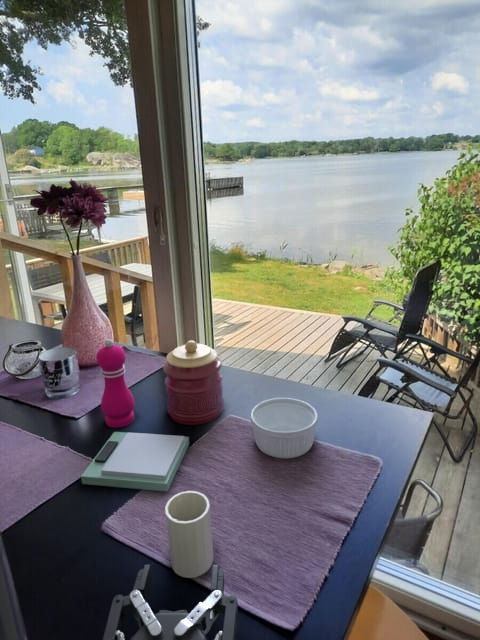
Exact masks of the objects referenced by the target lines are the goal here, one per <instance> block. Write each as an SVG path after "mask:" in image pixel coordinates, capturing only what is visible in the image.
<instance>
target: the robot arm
mask: <svg viewBox="0 0 480 640" xmlns="http://www.w3.org/2000/svg"><path fill="white" fill-rule="evenodd" d="M11 568H12V567H11V566H10V561H9V557H8V554H7V550H6V546H5V542H4V539H3V535H2V531H1V530H0V640H29V637H28V633H27V630H26V625H25V621H24V617H23V612H22V609H21V604H20V602H19V601H20V600H19V597H18V593H17V589H16V585H15V581H14V577H13V573H12V569H11ZM152 579H153V570H152V564H150V563H149V564H147V563H146V564H144V565H143V568H140V569H139V571H138V572H137V573H136V578H135V580H134V581H135V582H134V585H133V588H132V591H130V593H129V594H128V595H125V596H123V594H116V595H115V596H114V597H113V599H112V601H111V606H110V609H109V613H108V618H107V621H106V624H105V628H104V633H103V636H102V640H126V638H125V634H124V632H123V629H124V626H125V621H126V617H127V615H130V614H132V615H133V617H134V619H135V621H136V623H137V625H138V628H139V629H138V630H137V631H136V632H135V633H134V634H133V635H132V636H131V637H130V638H129V640H208V637H207V636H206V635H207V634H208V633H209V632H210V630H211V628H212V626H213V624H214V622H216V621H217V619H218V618H219V617H220V615H224V617H223V627H222V630H218V633H216V634H215V637H214V639H213V640H237V630H238V621H239V620H238V618H239V610H238V609H239V608H238V598H237V596H236V595H233V594H232V595H229V596H228V595H225V593H224V592H225V591H224V590H225V572H224V570H223V569H222V568H220V565H219V564H212V569H211V580H210V590H209V591H210V594H209V595H208V596H207V597H206V599H204V600H203V601H200V602H199V603H198V604H197V605H195V606H194V608H193V609H192V610H191V611H190V612H188V610H187V609H179V610H175V611H171V610H167V609H159V611H158V612H156V613H154V612H153V611H152V609H151V606H150V605H149V603H148V602H147V599H148V596H149V591H150V587H151V583H152Z"/></svg>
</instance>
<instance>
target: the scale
mask: <svg viewBox="0 0 480 640" xmlns="http://www.w3.org/2000/svg"><path fill="white" fill-rule="evenodd" d="M189 446H190V437H189V436H184V435H174V434H173V435H172V434H160V433H159V434H158V433H157V434H156V433H143V432H130V431H129V432H126V431H125V432H123V431H113V432H112V434H111V435H110V437H109V438H108V440H106V442H105V443H104V445H103V446H102V448H101V449H100V450H99V451H98V453H97V454H96V456H94V458H93V460H92V461H91V462H90V463H89V465H88V466H87V467H86V468H85V470H84V471H83V473H82V474H81V475H80V480H81V485H90V486H91V485H92V486H102V487H112V488H125V489H135V490H148V491H157V492H158V491H159V492H169V489H170V488H171V485H172V483H173V480H174V479H175V477H176V474H177V472H178V470H179V467H180V465H181V463H182V461H183V458H184V457H185V454H186V452H187V450H188V448H189Z"/></svg>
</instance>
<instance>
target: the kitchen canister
mask: <svg viewBox="0 0 480 640" xmlns="http://www.w3.org/2000/svg"><path fill="white" fill-rule="evenodd" d="M165 360H166V362H165V364H164V365H163V367H162V370H163V372H164V374H165V376H166V377H165V379H164V385H165V391H166V403H167V404H166V407H167V413H168V414H169V417H170V419H172V420H173V421H174V422H176V423H178V424H181V425H190V426H194V425H195V426H196V425H204V424H206V423H210V422H213V421H214V420H216V419H218V418H219V417H220V416H221V415H222V413H223V411H224V407H225V399H224V396H223V395H224V394H223V393H224V392H223V375H222V372H221V371H220V370H221V369H222V366H223V363H222V361H221V359H219V358H218V352H217V350H215V349H214V348H212V347H210V346H208V345H206V344H203V343H197V342H196V341H195V340H188V341H186V343H185V344H182V345H179V346H177V347H175V348H174V349H173V350H172V351H170V352H168V353H167V354H166V359H165Z"/></svg>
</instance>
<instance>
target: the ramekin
mask: <svg viewBox="0 0 480 640" xmlns="http://www.w3.org/2000/svg"><path fill="white" fill-rule="evenodd" d="M318 421H319V417H318V412H317V410H316V409H315V407H314V406H313V405H311V404H310V403H308V402H306V401H303V400H301V399H298V398H297V399H296V398H291V397H275V398H269V399H266V400H263V401H261V402H259V403H258V404H256V405H255V406H254V407H253V408H252V410H251V412H250V424H251V425H252V431H253V436H254V442H255V444H256V446H257V448H258V449H259V450H260V451H261V452H263V453H264V454H266V455H267V456H270V457H273V458H277V459H294V458H298V457H301V456H302V455H305V454H306V453H307V452H309V451H310V449H312V446H313V445H314V441H315V435H316V428H317V426H318V423H319V422H318Z"/></svg>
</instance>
